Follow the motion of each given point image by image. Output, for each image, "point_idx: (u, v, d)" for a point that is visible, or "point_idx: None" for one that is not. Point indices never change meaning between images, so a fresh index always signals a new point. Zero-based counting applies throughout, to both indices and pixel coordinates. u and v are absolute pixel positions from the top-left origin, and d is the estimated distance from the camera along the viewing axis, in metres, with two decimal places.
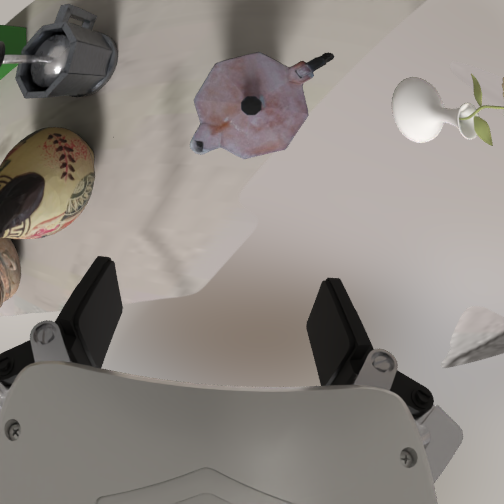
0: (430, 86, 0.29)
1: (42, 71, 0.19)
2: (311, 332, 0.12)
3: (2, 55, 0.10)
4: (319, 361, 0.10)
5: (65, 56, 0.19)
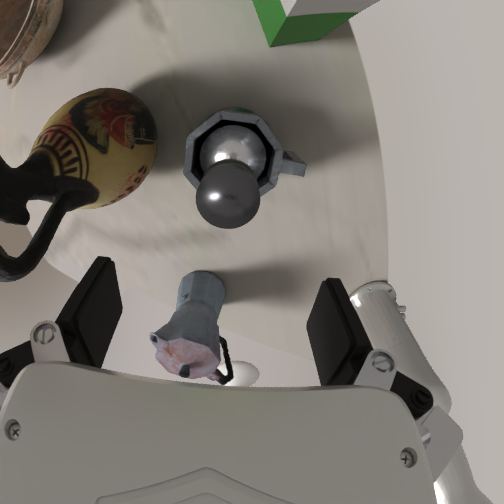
0: (255, 380, 0.62)
1: (220, 147, 0.28)
2: (311, 332, 0.12)
3: None
4: (319, 361, 0.10)
5: None
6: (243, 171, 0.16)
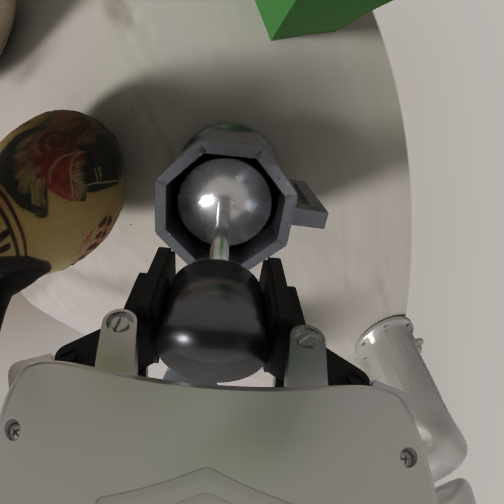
0: None
1: (206, 191, 0.20)
2: None
3: None
4: None
5: None
6: (236, 314, 0.08)
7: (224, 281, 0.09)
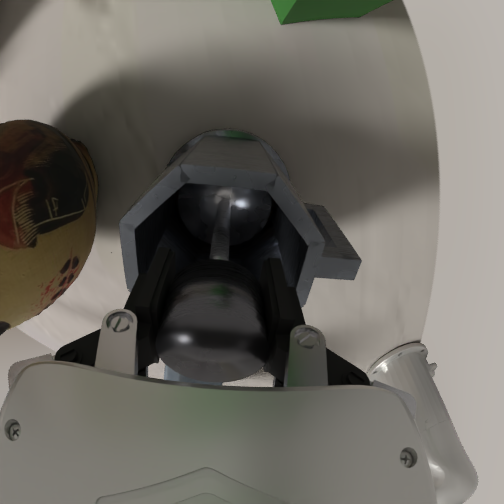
0: None
1: (206, 191, 0.20)
2: None
3: None
4: None
5: None
6: (236, 313, 0.08)
7: (224, 281, 0.09)
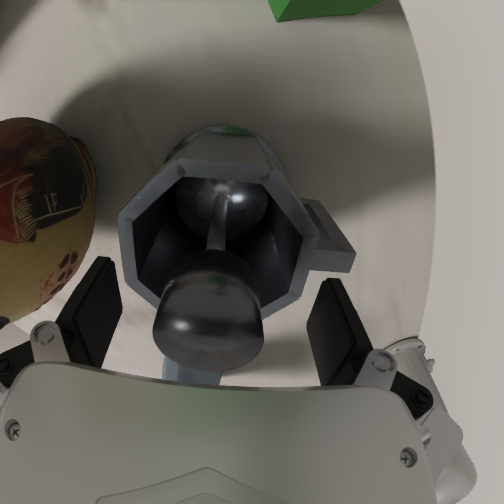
0: None
1: (203, 186, 0.20)
2: (311, 332, 0.12)
3: None
4: (319, 361, 0.10)
5: None
6: (231, 300, 0.09)
7: (219, 270, 0.10)
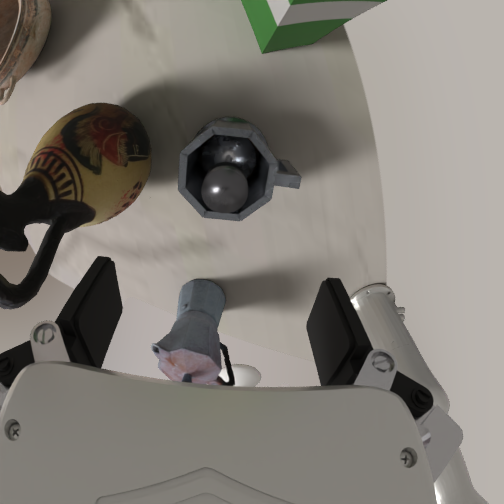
0: (257, 382, 0.63)
1: (218, 150, 0.34)
2: (311, 332, 0.12)
3: None
4: (319, 361, 0.10)
5: None
6: (235, 171, 0.22)
7: (230, 165, 0.23)
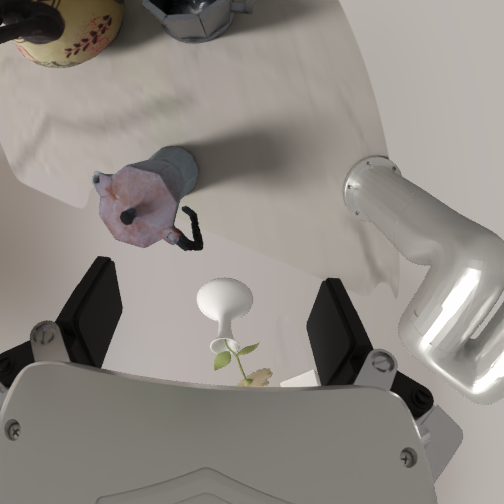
0: (248, 305, 0.53)
1: (185, 2, 0.24)
2: (311, 332, 0.12)
3: None
4: (319, 361, 0.10)
5: None
6: None
7: None
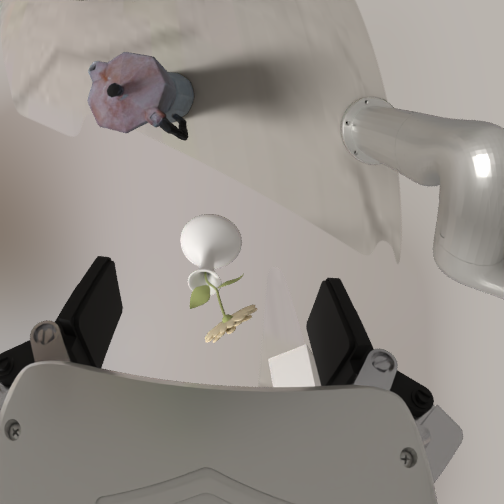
0: (236, 247, 0.49)
1: None
2: (311, 332, 0.12)
3: None
4: (319, 361, 0.10)
5: None
6: None
7: None
